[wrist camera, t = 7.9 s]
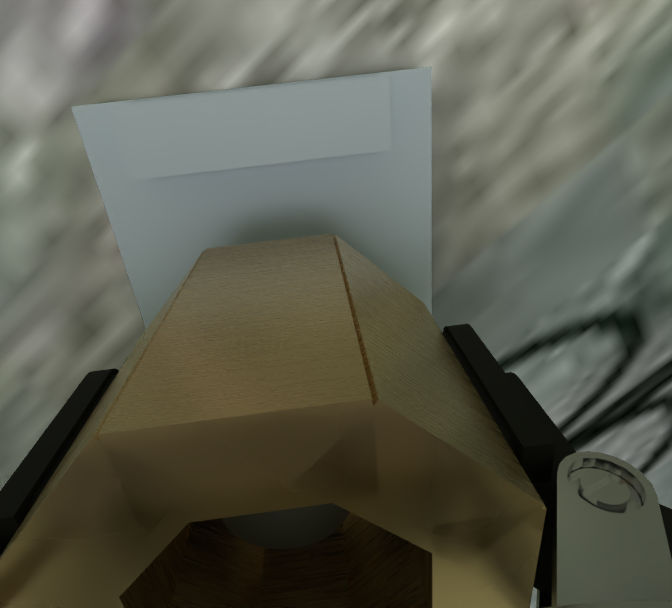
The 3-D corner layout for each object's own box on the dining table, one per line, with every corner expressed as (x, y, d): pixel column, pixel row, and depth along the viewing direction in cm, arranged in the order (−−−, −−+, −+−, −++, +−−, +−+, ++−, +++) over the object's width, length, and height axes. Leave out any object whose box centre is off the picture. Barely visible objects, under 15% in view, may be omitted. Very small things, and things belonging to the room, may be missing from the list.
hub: (426, 452, 13) (514, 698, 8) (189, 483, 13) (115, 758, 8) (424, 222, 10) (570, 372, 5) (111, 259, 10) (-113, 461, 4)
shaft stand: (422, 418, 20) (520, 665, 11) (202, 448, 19) (128, 726, 11) (417, 69, 14) (626, 27, 5) (94, 105, 13) (-273, 125, 5)
